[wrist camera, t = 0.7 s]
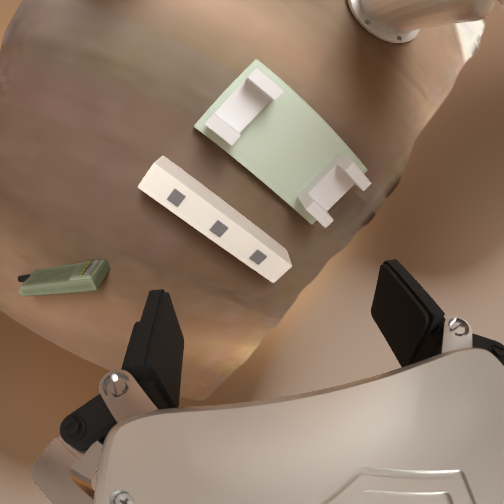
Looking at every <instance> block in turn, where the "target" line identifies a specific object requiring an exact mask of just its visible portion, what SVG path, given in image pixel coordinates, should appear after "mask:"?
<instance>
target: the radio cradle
mask: <svg viewBox="0 0 504 504" xmlns="http://www.w3.org/2000/svg"><path fill="white" fill-rule="evenodd" d="M194 127H195V128H196V129H198V130H199V131H200V132H202V133H203V134H204V135H205V136H207V137H208V138H209V139H211V140H212V141H213V142H214V143H216V144H217V145H218V146H220V147H221V148H222V149H223V150H225V151H226V152H227V153H228V154H230V155H231V156H232V157H233V158H235V159H236V160H237V161H238V162H239V163H241V164H242V165H243V166H244V167H246V168H247V169H248V170H249V171H250V172H252V173H253V174H254V175H255V176H256V177H258V178H259V179H260V180H261V181H262V182H264V183H265V184H266V185H267V186H268V187H269V188H271V189H272V190H273V191H274V192H275V193H276V194H278V195H279V196H280V197H281V198H282V199H283V200H284V201H286V202H287V203H288V204H289V205H290V206H291V207H292V208H293V209H295V210H296V211H297V212H298V213H299V214H300V215H301V216H302V217H304V218H305V219H306V220H307V221H308V222H309V223H310V224H311V225H312V224H313V223H314V222H315V221H316V220H318V221H319V222H320V223H321V224H322V225H323V226H324V227H325V228H326V227H327V226H328V225H329V224H331V223H332V222H333V221H334V220H333V219H332V217H331V216H330V215H329V214H328V212H327V211H328V210H329V209H330V208H331V207H332V206H333V205H334V204H335V203H336V202H337V201H338V200H339V199H340V198H341V197H342V196H343V195H344V194H345V193H346V192H347V191H348V190H349V189H350V188H351V187H352V186H353V185H354V184H355V185H356V186H358V187H359V188H360V189H361V190H363V191H364V190H365V189H366V188H367V187H368V186H369V185H370V184H371V182H370V181H369V180H368V179H367V177H366V176H365V175H364V173H365V172H366V171H367V170H368V169H367V168H366V167H365V166H364V165H363V163H362V162H361V161H360V160H359V159H358V157H357V156H356V155H355V154H354V153H353V152H352V150H351V149H350V148H349V147H348V146H347V145H346V144H345V142H344V141H343V140H342V139H341V138H340V137H339V136H338V135H337V134H336V133H335V132H334V130H333V129H332V128H331V127H330V126H329V125H328V124H327V123H326V122H325V121H324V120H323V119H322V118H321V117H320V116H319V115H318V114H317V113H316V112H315V111H314V110H313V109H312V108H311V107H310V106H309V105H308V104H307V103H306V102H305V101H304V100H303V99H302V98H301V97H300V96H299V95H298V94H296V93H295V92H294V91H293V90H292V89H291V88H290V87H289V86H288V85H287V84H285V83H284V82H283V81H282V80H281V79H280V78H279V77H277V76H276V75H275V74H274V73H273V72H272V71H270V70H269V69H268V68H267V67H266V66H264V65H263V64H262V63H261V62H260V61H258V60H257V59H256V60H255V61H254V62H253V63H252V64H251V65H250V66H249V67H248V68H247V69H246V70H245V71H244V72H243V73H242V74H241V75H240V76H239V77H238V78H237V79H236V80H235V81H234V82H233V83H232V84H231V85H230V86H229V87H228V88H227V89H226V90H225V91H224V92H223V94H222V95H221V96H220V97H219V98H218V99H217V100H216V101H215V102H214V103H213V105H212V106H211V107H210V108H209V109H208V110H207V111H206V113H205V114H204V115H203V116H202V117H201V118H200V120H199V121H198V122H197V123H196V124H195V126H194Z"/></svg>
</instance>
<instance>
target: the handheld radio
mask: <svg viewBox="0 0 504 504" xmlns="http://www.w3.org/2000/svg"><path fill="white" fill-rule="evenodd" d="M109 270H110V267H109V264H108V262H107V260H102V259H100V260H93V261H86V262H82V263H76V264H70V265H63V266H57V267H50V268H44V269H37V270H35V271H34V272H33V273H32V274H31V275H24V276H19V277H18V281H19V282H24V281H25V282H24V283H23V285H22V286H21V289H20V290H18V291H19V293H20V295H21V296H40V295H53V294H66V293H77V292H89V291H97V290H98V288H99V287H100V285H101V283H102V282H103V280H104V278H105V277H106V275H107V274H108V272H109Z"/></svg>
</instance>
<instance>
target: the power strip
mask: <svg viewBox="0 0 504 504" xmlns="http://www.w3.org/2000/svg"><path fill="white" fill-rule="evenodd" d="M138 188H139V189H141V190H142V191H143V192H145V193H146V194H148V195H149V196H150V197H152V198H153V199H155V200H156V201H157V202H159V203H160V204H162V205H163V206H164V207H166V208H167V209H168V210H170V211H171V212H173V213H174V214H175V215H177V216H178V217H180V218H181V219H182V220H184V221H185V222H187V223H188V224H190V225H191V226H192V227H194V228H195V229H197V230H198V231H199V232H201V233H202V234H204V235H205V236H206V237H208V238H209V239H211V240H212V241H214V242H215V243H216V244H218V245H219V246H221V247H222V248H223V249H225V250H226V251H228V252H229V253H231V254H232V255H233V256H235V257H236V258H238V259H239V260H241V261H242V262H243V263H245V264H246V265H248V266H249V267H251V268H252V269H254V270H255V271H256V272H258V273H259V274H261V275H262V276H264V277H265V278H267V279H268V280H269V281H271V282H272V283H274V282H276V281H277V280H278V279H279V278H280V277H281V276H282V275H283V274H284V273H285V272H287V271H288V270H289V269H290V268H291V267H292V264H291V261H290V258H289V255H288V252H287V250H286V249H285V248H284V247H283V246H281V245H280V244H279V243H277V242H276V241H275V240H274V239H272V238H271V237H270V236H269V235H267V234H266V233H265V232H263V231H262V230H261V229H260V228H258V227H257V226H256V225H254V224H253V223H252V222H251V221H249V220H248V219H247V218H245V217H244V216H243V215H242V214H240V213H239V212H238V211H236V210H235V209H234V208H232V207H231V206H230V205H229V204H227V203H226V202H225V201H223V200H222V199H221V198H219V197H218V196H217V195H215V194H214V193H213V192H211V191H210V190H209V189H208V188H206V187H205V186H204V185H202V184H201V183H200V182H198V181H197V180H196V179H194V178H193V177H192V176H190V175H189V174H188V173H186V172H185V171H184V170H182V169H181V168H179V167H178V166H177V165H175V164H174V163H173V162H171V161H170V160H169V159H167V158H166V157H165V156H161V157H160V158H159V159H158V160H157V161H156V162H154V164H153V165H152V166H151V168H150V169H149V171H148V172H147V174H146V175H145V177H144V178H143V180H142V181H141V183H140V184H139V186H138Z"/></svg>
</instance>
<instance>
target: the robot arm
mask: <svg viewBox="0 0 504 504" xmlns="http://www.w3.org/2000/svg"><path fill="white" fill-rule="evenodd" d="M347 1H348V4H349V8H350V10H351V12H352V14H353V15H354V17H355V18H356V20H357V21H358V22H359V23H360V24H361V25H362V26H363V28H365V29H366V30H367V31H368V32H369V33H371V34H372V35H374V36H375V37H377V38H379V39H381V40H383V41H387V42H390V43H404V42H408V41H411V40H413V39H414V38H415V37H416V36H417V34H418V33H419V30H420V29H423V28H428V27H434V26H440V25H446V24H453V23H461V22H470V21H478V20H481V19H484V18H485V17H486V16H488V15H489V13H490V12H491V10H492V8H493V5H494V2H495V0H347ZM498 1H499V2H500V4H501V5H502V7H503V8H504V0H498ZM365 22H366V23H365ZM371 314H372V317H373V319H374V321H375V322H376V324H377V325H378V327H379V329H380V330H381V332H382V334H383V335H384V337H385V339H386V341H387V342H388V344H389V346H390V347H391V349H392V351H393V353H394V354H395V356H396V358H397V360H398V361H399V363H400V365H401V367H402V368H399V369H396V370H393V371H390V372H387V373H383V374H380V375H377V376H373V377H370V378H366V379H363V380H359V381H355V382H352V383H348V384H344V385H340V386H336V387H331V388H327V389H323V390H318V391H313V392H308V393H303V394H297V395H292V396H286V397H280V398H273V399H266V400H259V401H251V402H243V403H232V404H222V405H210V406H197V407H196V406H195V407H181V408H178V406H179V395H180V382H181V371H182V360H183V350H184V338H183V335H182V332H181V329H180V326H179V323H178V320H177V317H176V314H175V311H174V308H173V304H172V301H171V298H170V295H169V293H168V292H165V291H164V290H163V289H161V290H151V291H150V292H149V295H148V298H147V301H146V304H145V307H144V310H143V314H142V317H141V320H140V322H136V323H135V325H134V327H133V331H132V334H131V337H130V341H129V344H128V347H127V351H126V354H125V358H124V362H123V365H122V369H121V370H119V369H118V370H113V371H111V372H109V373H107V374H106V375H105V376H104V377H103V378H102V379H101V382H100V384H99V391H100V394H99V395H98V396H96V397H94V398H93V399H92V400H90V401H89V402H87V403H86V404H84V405H83V406H81V407H80V408H78V409H77V410H76V411H74V412H73V413H71V414H70V415H68V416H67V417H66V418H65V419H64V420H63V421H62V423H61V427H60V434H61V436H60V437H59V438H58V439H57V438H56V437H55V438H54V439H53V440H52V442H51V443H50V444H49V445H48V447H47V448H46V449H45V450H44V451H43V453H42V454H41V455H40V456H39V458H38V459H37V460H36V461H35V463H34V464H33V466H32V468H31V476H32V479H33V481H34V482H35V484H36V485H37V486H38V487H39V488H40V489H41V491H42V492H43V493H44V494H45V495H46V496H47V497H48V498H49V500H50V501H51V502H52V503H53V504H504V345H502V344H501V343H499V342H497V341H494V340H491V339H488V338H485V337H482V336H479V335H476V334H473V333H472V327H471V325H470V323H469V322H468V321H467V320H466V319H464V318H462V317H460V316H450V317H448V318H447V319H445V318H444V314H445V313H444V312H443V311H442V310H441V308H440V307H439V306H438V305H437V304H436V302H435V301H434V300H433V299H432V298H431V297H430V296H429V294H428V293H427V292H426V291H425V290H424V289H423V288H422V287H421V285H420V284H419V283H418V282H417V281H416V280H415V279H414V278H413V276H412V275H411V274H410V273H409V272H408V271H407V270H406V269H405V268H404V267H403V266H402V265H401V264H400V263H399V262H398V261H397V260H396V259H394V260H388V261H385V262H384V263H383V265H381V266H380V271H379V276H378V281H377V286H376V290H375V295H374V300H373V304H372V308H371ZM97 466H98V467H97ZM96 468H97V470H95V469H96ZM96 472H97V475H96V483H95V491H94V490H93V488H92V485H91V480H92V478H93V476H94V474H95V473H96ZM129 493H130V494H129Z"/></svg>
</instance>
